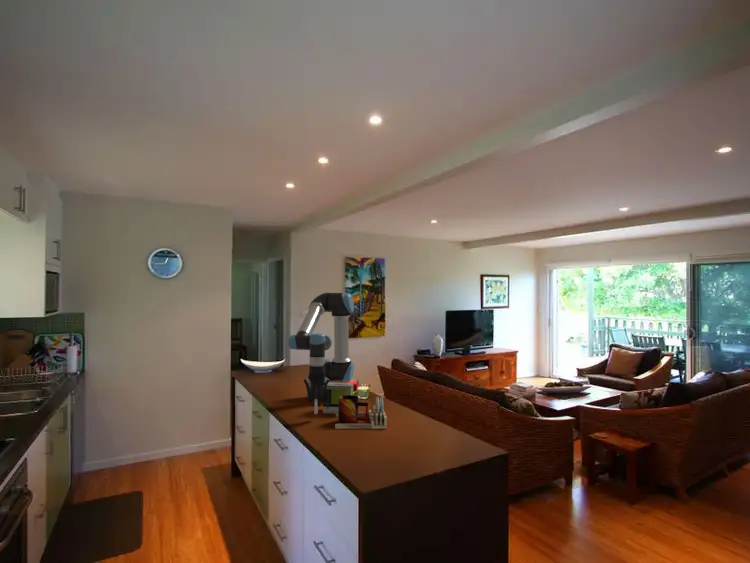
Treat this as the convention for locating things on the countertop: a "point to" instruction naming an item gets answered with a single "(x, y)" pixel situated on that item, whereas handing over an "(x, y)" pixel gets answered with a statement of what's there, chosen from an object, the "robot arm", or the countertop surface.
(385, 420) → the dish rack
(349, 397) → the mug
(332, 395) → the tea box
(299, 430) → the countertop surface
